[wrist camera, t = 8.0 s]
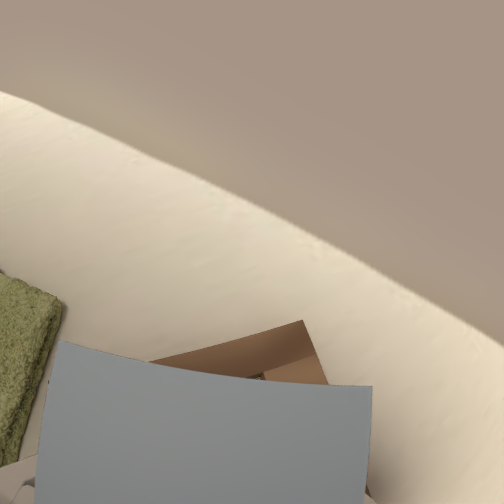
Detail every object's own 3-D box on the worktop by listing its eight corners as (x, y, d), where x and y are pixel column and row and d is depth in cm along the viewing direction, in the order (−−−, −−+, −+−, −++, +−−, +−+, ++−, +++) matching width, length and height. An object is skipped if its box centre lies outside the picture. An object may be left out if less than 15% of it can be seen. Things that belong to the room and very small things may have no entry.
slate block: (159, 489, 11) (37, 586, 2) (171, 401, 13) (59, 339, 4) (258, 503, 11) (332, 634, 2) (268, 415, 13) (371, 386, 4)
